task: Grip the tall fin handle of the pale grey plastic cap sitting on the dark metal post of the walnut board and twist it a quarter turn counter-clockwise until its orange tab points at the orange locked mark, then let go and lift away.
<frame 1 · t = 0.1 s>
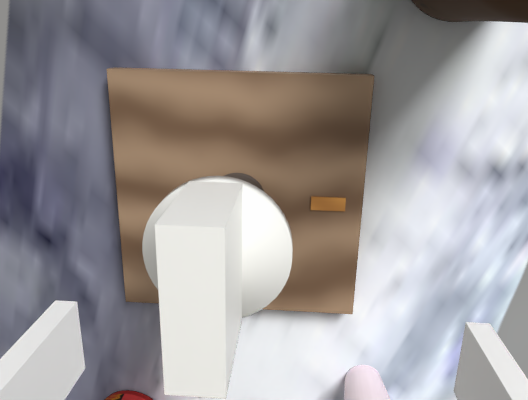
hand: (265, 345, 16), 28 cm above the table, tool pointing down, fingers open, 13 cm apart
post board: (240, 193, 44), on the table
smoothie: (362, 378, 50), on the table
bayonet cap: (208, 287, 29), point 16 cm above the table, hinge at 0.0°
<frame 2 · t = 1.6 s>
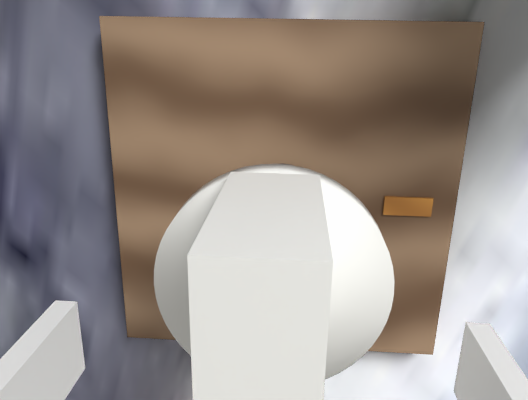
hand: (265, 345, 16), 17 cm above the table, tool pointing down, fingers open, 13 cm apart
post board: (282, 191, 32), on the table
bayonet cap: (267, 350, 17), point 16 cm above the table, hinge at 0.0°
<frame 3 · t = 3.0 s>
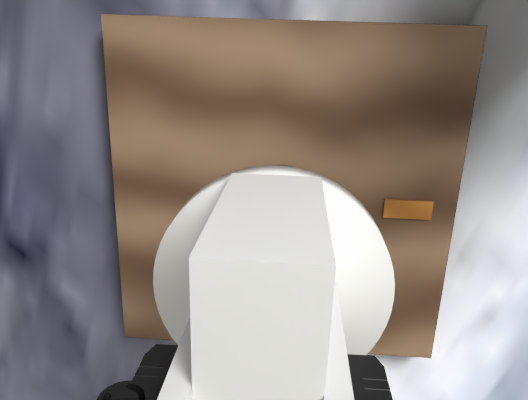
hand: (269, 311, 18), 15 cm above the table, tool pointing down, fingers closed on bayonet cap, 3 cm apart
post board: (282, 193, 32), on the table
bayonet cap: (266, 352, 17), point 17 cm above the table, hinge at 0.1°, touching gripper
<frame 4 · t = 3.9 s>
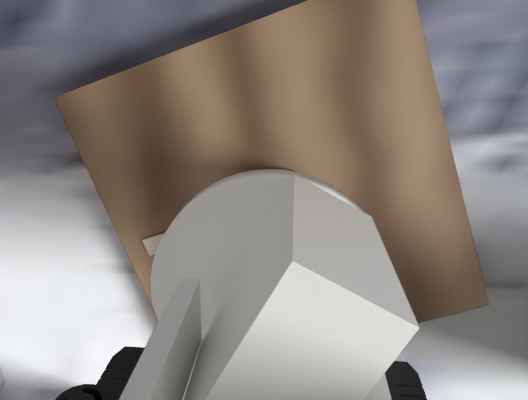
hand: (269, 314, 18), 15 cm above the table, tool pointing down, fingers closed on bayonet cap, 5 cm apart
post board: (280, 196, 32), on the table
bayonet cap: (254, 355, 17), point 17 cm above the table, hinge at 42.2°, touching gripper
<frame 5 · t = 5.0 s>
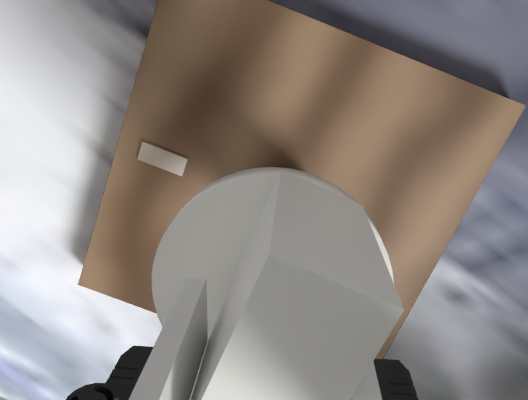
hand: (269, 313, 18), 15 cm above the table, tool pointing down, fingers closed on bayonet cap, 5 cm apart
post board: (281, 194, 32), on the table
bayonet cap: (257, 353, 17), point 17 cm above the table, hinge at 88.3°, touching gripper
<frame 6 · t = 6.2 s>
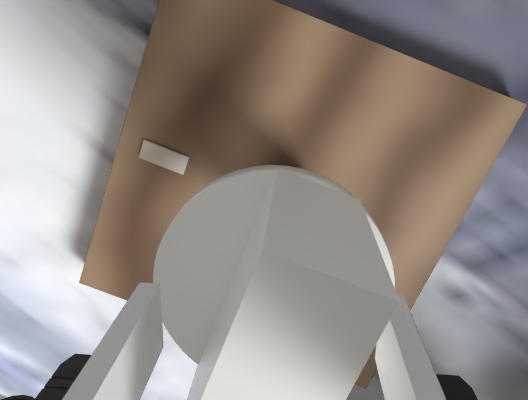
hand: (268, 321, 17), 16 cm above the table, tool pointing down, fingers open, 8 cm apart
post board: (282, 192, 32), on the table
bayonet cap: (259, 351, 17), point 17 cm above the table, hinge at 90.3°
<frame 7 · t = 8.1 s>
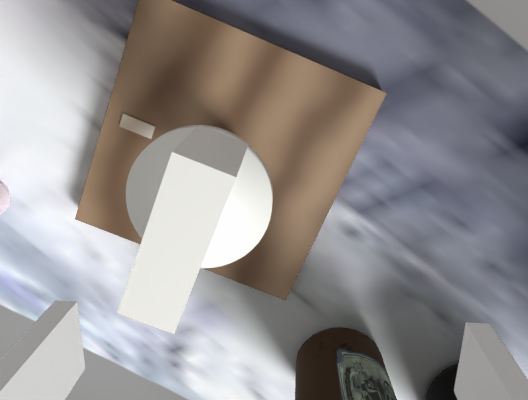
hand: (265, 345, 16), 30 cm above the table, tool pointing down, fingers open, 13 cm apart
olive oil: (339, 361, 52), on the table
post board: (224, 154, 45), on the table
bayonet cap: (185, 229, 29), point 17 cm above the table, hinge at 90.5°
coffee jar: (469, 394, 53), on the table
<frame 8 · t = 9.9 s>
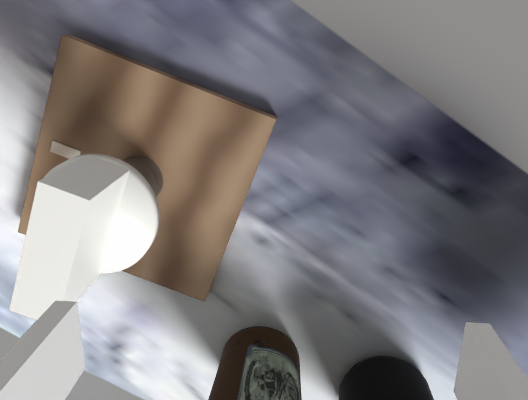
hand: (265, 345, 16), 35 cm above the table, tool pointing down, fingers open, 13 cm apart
olive oil: (261, 357, 58), on the table
post board: (145, 174, 51), on the table
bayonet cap: (75, 241, 36), point 17 cm above the table, hinge at 90.5°
coffee jar: (381, 387, 58), on the table
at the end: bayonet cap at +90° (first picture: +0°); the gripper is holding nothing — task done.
